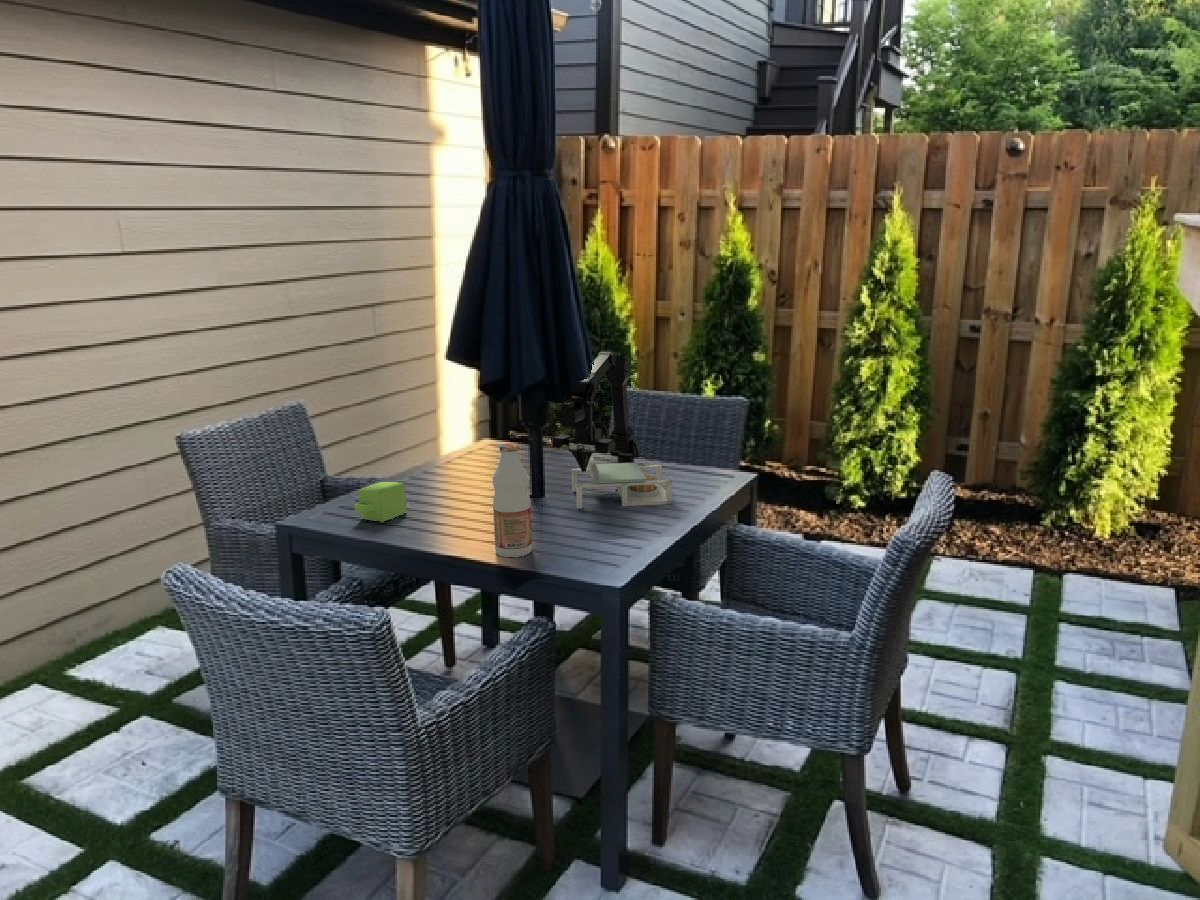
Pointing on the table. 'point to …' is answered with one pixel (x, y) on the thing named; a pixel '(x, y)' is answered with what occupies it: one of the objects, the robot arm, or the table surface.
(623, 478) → the sliding lid
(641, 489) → the gear hub
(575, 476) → the housing
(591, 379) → the robot arm
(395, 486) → the gearbox
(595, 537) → the table surface
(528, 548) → the fruit juice
